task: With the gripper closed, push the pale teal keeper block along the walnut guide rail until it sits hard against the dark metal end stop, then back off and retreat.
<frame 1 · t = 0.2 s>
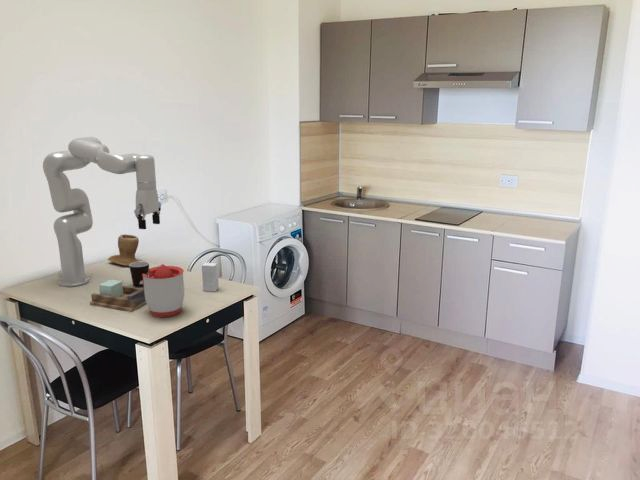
hand: (149, 226, 224), 31 cm above the table, fingers open, 9 cm apart
citrus juicer: (163, 312, 215), on the table
rail board: (123, 301, 225), on the table
keeper: (111, 289, 226), point 4 cm above the table, slide at 0.0 cm
coffee mug: (142, 284, 246), on the table
skincare box: (210, 290, 240), on the table
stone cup: (126, 263, 276), on the table
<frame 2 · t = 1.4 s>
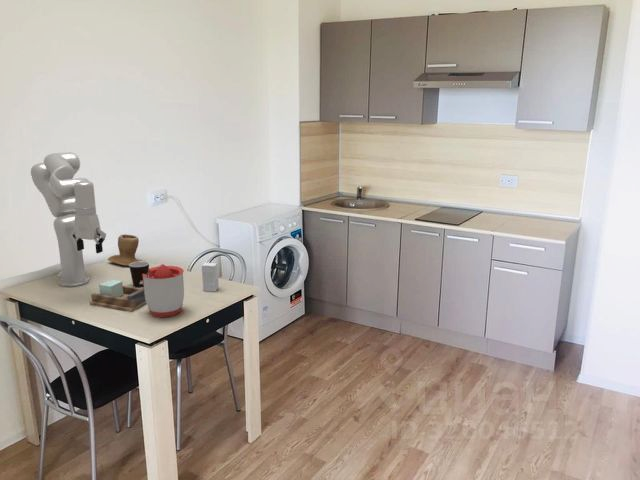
hand: (90, 251, 225), 20 cm above the table, fingers open, 9 cm apart
nothing on the table moved.
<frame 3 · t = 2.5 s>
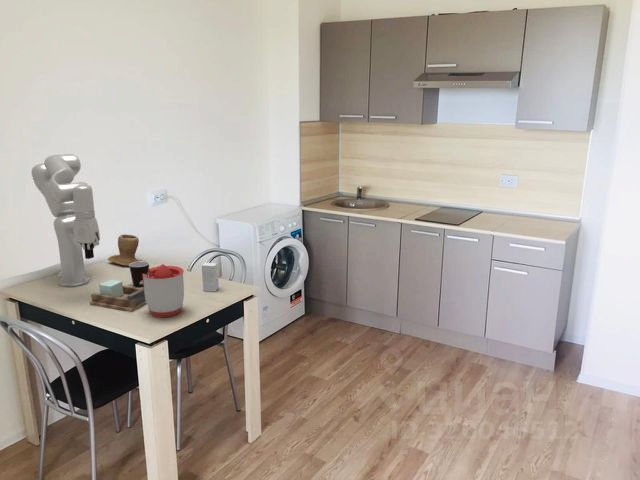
hand: (89, 257, 225), 17 cm above the table, fingers closed
nothing on the table moved.
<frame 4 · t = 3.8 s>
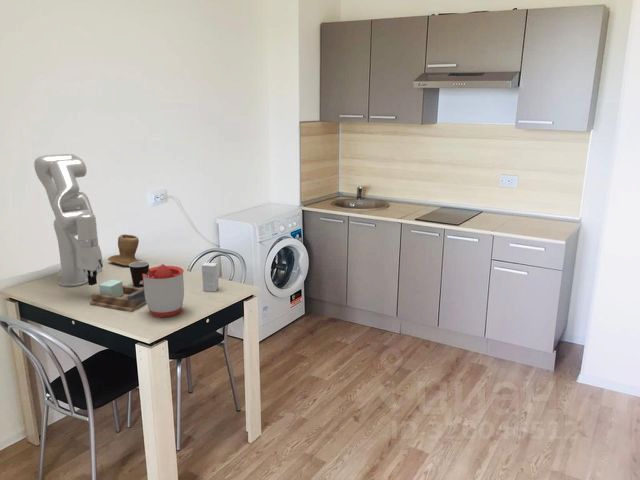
hand: (92, 284, 228), 6 cm above the table, fingers closed
nothing on the table moved.
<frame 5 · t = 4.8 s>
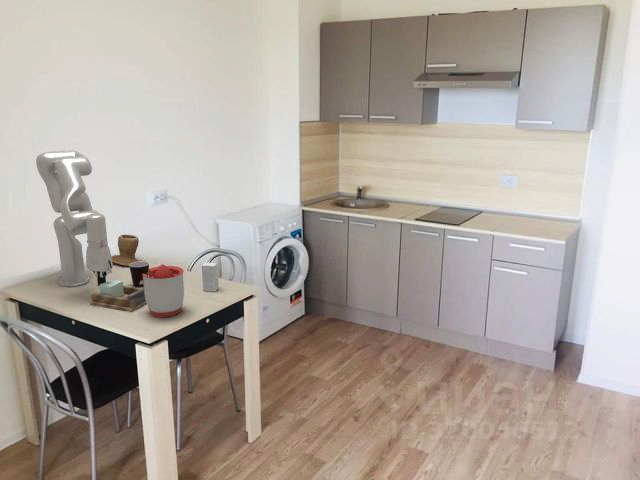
hand: (102, 285, 227), 6 cm above the table, fingers closed
keeper: (111, 289, 225), point 4 cm above the table, slide at 0.2 cm, touching gripper
everything else where it was.
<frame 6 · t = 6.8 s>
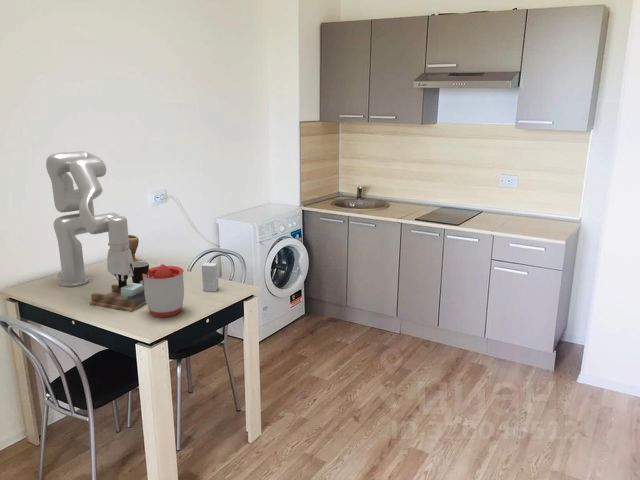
hand: (123, 288, 223), 6 cm above the table, fingers closed
keeper: (132, 293, 222), point 4 cm above the table, slide at 11.0 cm, touching gripper, rail board
everything else where it was.
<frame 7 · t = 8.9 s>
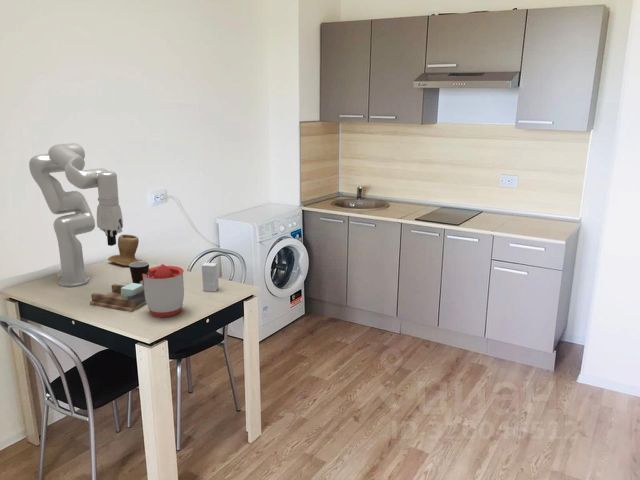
hand: (112, 244, 224), 23 cm above the table, fingers closed
keeper: (132, 293, 222), point 4 cm above the table, slide at 11.0 cm, touching rail board
everything else where it was.
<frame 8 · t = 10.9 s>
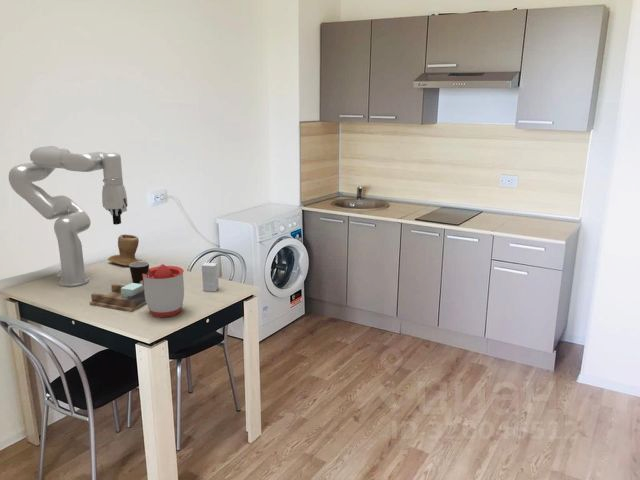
hand: (117, 223, 235), 29 cm above the table, fingers closed
nothing on the table moved.
at the end: keeper slide at 11.0 cm; keeper 0.0 cm from the target spot, resting on rail board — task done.
